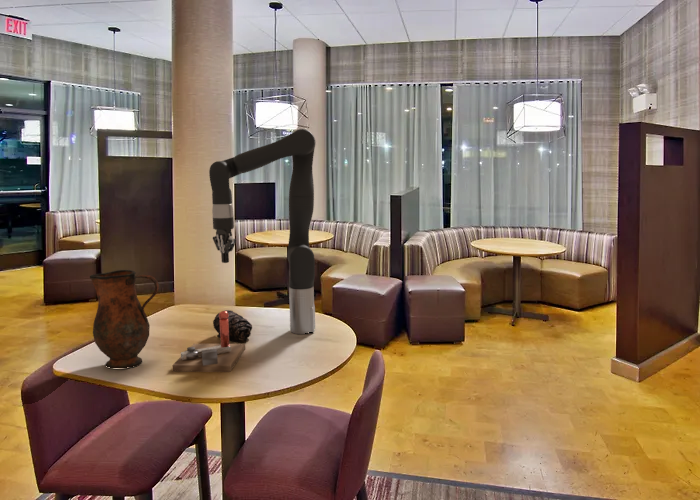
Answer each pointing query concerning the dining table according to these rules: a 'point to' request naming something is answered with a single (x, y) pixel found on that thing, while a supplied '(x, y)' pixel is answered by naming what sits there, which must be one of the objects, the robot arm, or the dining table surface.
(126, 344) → the pitcher
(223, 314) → the lever
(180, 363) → the base
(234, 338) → the pine cone
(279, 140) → the robot arm
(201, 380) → the dining table surface
